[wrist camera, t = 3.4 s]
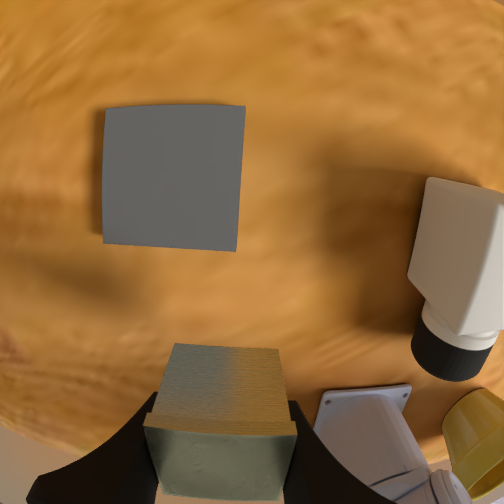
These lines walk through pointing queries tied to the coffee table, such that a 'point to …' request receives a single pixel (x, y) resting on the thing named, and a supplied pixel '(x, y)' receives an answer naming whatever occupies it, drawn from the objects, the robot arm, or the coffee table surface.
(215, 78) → the coffee table surface
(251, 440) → the grey green cube
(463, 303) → the medicine bottle
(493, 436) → the plant pot
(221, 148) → the block
